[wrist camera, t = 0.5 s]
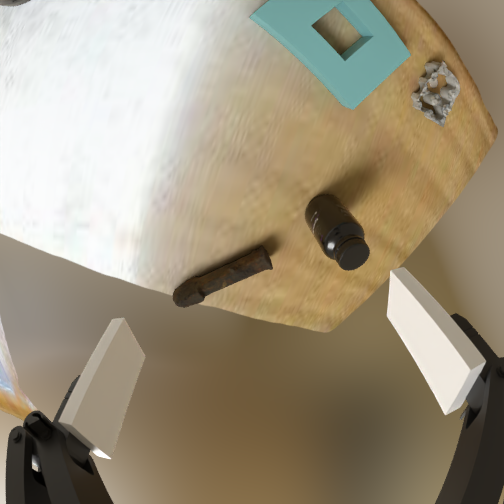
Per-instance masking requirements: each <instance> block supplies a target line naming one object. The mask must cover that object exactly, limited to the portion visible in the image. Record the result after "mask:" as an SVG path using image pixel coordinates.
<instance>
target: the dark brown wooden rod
mask: <svg viewBox="0 0 504 504" xmlns="http://www.w3.org/2000/svg"><path fill="white" fill-rule="evenodd" d="M267 269H270V270H272V269H273V267H272V263H271V259H270V257H269V255H268V253H267V251H266V250H265V249H264V247H263V246H261V247H260V248H259V250H253V251H252V253H251V254H249V255H247V256H245V257H242V258H240V259H238V260H237V261H234V262H232V263H230V264H226V265H225V266H223V267H221V268H218V269H217V270H215V271H213V272H210V273H208V274H206V275H204V276H202V277H200V278H198V277H193V278H191V279H189V280H188V281H186V282H185V283H184V284H182V285H181V286H180V287H179V288H177V289H176V290H175V291H174V293H173V301H174V302H175V304H176V305H177V306H179V307H184V308H185V307H189V306H190V305H194V304H198V303H200V302H202V301H204V298H205V296H207V295H209V294H211V293H213V292H215V291H218V290H220V289H223V288H225V287H227V286H229V285H232V284H234V283H236V282H238V281H241V280H243V279H246V278H248V277H250V276H252V275H254V274H257V273H259V272H262V271H264V270H267Z"/></svg>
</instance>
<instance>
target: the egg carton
mask: <svg viewBox="0 0 504 504" xmlns="http://www.w3.org/2000/svg"><path fill="white" fill-rule="evenodd" d="M442 61H443V60H442ZM446 67H447V65H446V64H445V61H443V62H442V63H438V62H434V61H432V62H431V63H426V64H425V68H426V72H427V73H426V76H425V77H424V78H422V77H420V78H419V84H420V90H419V92H418V93H414V92H413V94H412V96H411V98H412V99H413V107H414V108H415V109H418V110H421V111H423V112H425V114H424V116H425V117H426V118H428V119H430V120H432V121H434V122H435V123H437V124H439V125H440V126H442V127H444V123H445V120H446V116H447V115H448V112H449V111H451V109H452V105H453V104H454V101H455V99H456V97H457V96H458V94H459V92H460V85H459V82H458V80H457V79H456V77H455V76H454V75H453V74H452V72H451V71H449V70H448V69H447V68H446ZM438 74H441V75H445V76H446V82H447V87H442V88H441V89H440V95H441V97H442V98H441V97H440V95H439V94H437V93H433V92H430V91H429V90H428V88H427V82H429V83H430V86H431V87H432V88H436V87H437V86H438V80H437V78H436V77H438ZM420 96H423V100H424V102H425V103H428V104H430V105H433V107H434V111H435V114H433V111H432V110H431V109H427V108H425V107H422V102H421V101H420V100H419V99H420Z"/></svg>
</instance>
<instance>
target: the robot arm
mask: <svg viewBox="0 0 504 504" xmlns="http://www.w3.org/2000/svg"><path fill="white" fill-rule="evenodd" d="M28 1H30V0H0V5H2V6H18V5H21V4H24V3H26V2H28ZM387 317H388V318H389V320H390V321H391V323H392V325H393V326H394V328H395V329H396V331H397V332H398V334H399V336H400V337H401V339H402V340H403V342H404V343H405V345H406V347H407V348H408V350H409V352H410V353H411V355H412V357H413V358H414V360H415V362H416V363H417V365H418V367H419V368H420V370H421V372H422V373H423V375H424V377H425V379H426V381H427V382H428V384H429V386H430V388H431V390H432V391H433V393H434V395H435V397H436V399H437V401H438V402H439V404H440V406H441V408H442V410H443V412H444V414H445V415H447V414H448V413H450V412H452V411H454V410H456V409H458V408H459V407H461V405H462V403H463V402H464V400H465V399H466V400H467V402H468V406H467V407H466V409H465V411H464V412H463V413H462V415H461V417H460V419H462V418H463V417H464V416H465V418H464V422H463V427H462V430H461V434H460V437H459V441H458V444H457V448H456V451H455V455H454V458H453V460H452V463H451V466H450V469H449V472H448V474H447V477H446V479H445V482H444V484H443V487H442V490H441V491H440V494H439V496H438V498H437V500H436V503H435V504H498V502H499V499H500V496H501V493H502V489H503V486H504V357H503V358H499V357H497V355H496V354H495V353H494V352H493V350H492V349H491V348H490V347H489V345H488V344H487V343H486V342H485V341H484V340H483V338H482V337H481V336H480V335H478V332H477V331H476V330H475V329H474V328H473V326H472V325H471V324H470V323H469V322H468V321H467V320H466V319H465V318H463V317H462V316H460V315H458V314H453V315H451V316H449V314H448V313H447V312H446V311H445V310H444V309H443V308H442V307H441V305H440V304H439V303H438V302H437V301H436V300H435V299H434V298H433V297H432V296H431V294H429V292H428V291H427V290H426V289H425V288H424V287H423V286H422V285H421V284H420V283H419V282H418V281H417V280H416V279H415V278H414V277H413V276H412V275H411V274H410V273H409V272H408V271H407V270H406V269H405V268H404V267H402V268H398V269H394V270H391V271H390V288H389V299H388V310H387ZM145 357H146V356H145V354H144V353H143V351H142V349H141V348H140V346H139V344H138V342H137V341H136V339H135V337H134V335H133V333H132V332H131V330H130V328H129V326H128V324H127V322H126V320H125V319H124V318H117V319H112V321H111V322H110V324H109V326H108V328H107V329H106V331H105V333H104V334H103V336H102V338H101V340H100V341H99V343H98V345H97V347H96V348H95V350H94V352H93V354H92V355H91V357H90V359H89V361H88V363H87V365H86V366H85V368H84V370H83V372H82V374H81V375H79V376H78V377H77V378H76V379H75V380H74V381H73V382H72V384H71V386H70V388H69V390H68V393H67V394H66V396H65V399H64V400H63V402H62V404H61V406H60V408H59V410H58V412H57V414H56V416H55V418H54V421H53V422H51V421H50V420H49V419H48V418H47V417H46V416H45V415H44V414H43V413H42V412H40V411H33V412H31V413H30V414H28V416H27V417H26V418H25V420H24V423H23V427H22V426H17V427H15V428H13V429H12V430H11V432H10V434H9V438H8V448H7V459H6V504H114V503H113V502H112V500H111V498H110V496H109V494H108V492H107V490H106V488H105V486H104V483H103V481H102V479H101V477H100V475H99V473H98V471H97V468H96V466H95V463H94V461H93V459H92V457H91V456H90V455H89V452H90V450H91V451H92V452H94V453H95V454H96V455H97V456H100V457H104V458H109V459H112V456H113V453H114V449H115V446H116V442H117V439H118V435H119V433H120V429H121V426H122V423H123V420H124V417H125V414H126V411H127V408H128V405H129V402H130V399H131V396H132V393H133V390H134V387H135V384H136V381H137V379H138V375H139V373H140V370H141V367H142V365H143V362H144V359H145ZM32 463H33V464H34V465H35V466H37V467H38V472H37V471H35V470H34V469H32ZM503 504H504V502H503Z"/></svg>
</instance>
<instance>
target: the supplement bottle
mask: <svg viewBox="0 0 504 504" xmlns="http://www.w3.org/2000/svg"><path fill="white" fill-rule="evenodd" d="M305 220H306V223H307V225H308V226H309V228H310V230H311V231H312V233H313V235H314V237H315V238H316V240H317V242H318V244H319V245H320V247H321V249H322V251H323V252H324V254H325V255H326V256H327V257H329V258H330V259H333V260H336V262H337V263H338V264H339V266H340V267H341V268H342V269H343V270H348V271H349V270H354V269H357V268H358V267H360V266H361V265H363V264H364V263H365V261H367V259H368V256H369V254H370V252H369V251H370V250H369V247H368V245H367V244H366V242H365V240H364V230H363V228H362V226H361V225H360V224H359V222H358V221H357V220H356V219H355V217H354V216H353V215H352V214H351V213H350V211H349V210H348V209H347V208H346V207H345V205H344V204H343V203H342V202H341V201H340V200H339V199H338V198H337V197H335V196H333V195H321V196H319V197H317V198H315V199H314V200H312V201H311V202H310V204H309V205H308V207H307V209H306V212H305Z"/></svg>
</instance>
